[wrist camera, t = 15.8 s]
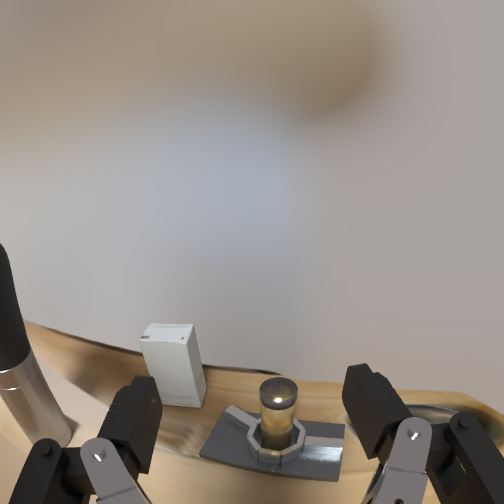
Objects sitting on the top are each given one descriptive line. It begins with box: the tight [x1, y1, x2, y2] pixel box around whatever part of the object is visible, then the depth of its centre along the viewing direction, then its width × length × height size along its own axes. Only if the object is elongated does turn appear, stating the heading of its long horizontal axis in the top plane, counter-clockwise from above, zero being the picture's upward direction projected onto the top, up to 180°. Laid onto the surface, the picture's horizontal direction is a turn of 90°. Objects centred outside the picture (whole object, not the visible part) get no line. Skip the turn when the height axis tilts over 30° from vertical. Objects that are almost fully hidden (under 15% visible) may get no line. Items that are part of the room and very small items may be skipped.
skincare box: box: [139, 323, 207, 408], centre depth 43 cm, size 8×6×15 cm
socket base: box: [199, 404, 345, 482], centre depth 34 cm, size 20×11×4 cm, turn 73°
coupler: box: [260, 377, 298, 451], centre depth 32 cm, size 5×5×12 cm
